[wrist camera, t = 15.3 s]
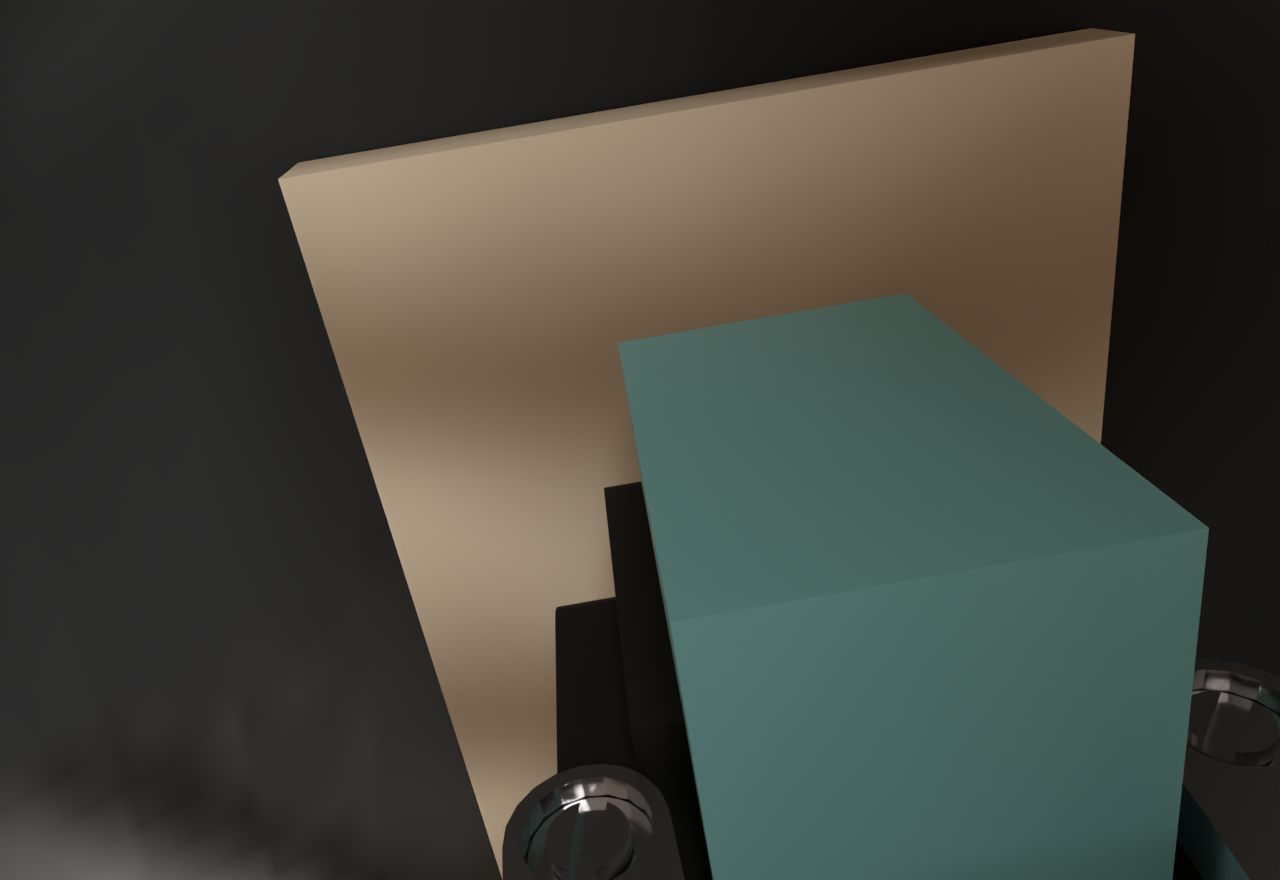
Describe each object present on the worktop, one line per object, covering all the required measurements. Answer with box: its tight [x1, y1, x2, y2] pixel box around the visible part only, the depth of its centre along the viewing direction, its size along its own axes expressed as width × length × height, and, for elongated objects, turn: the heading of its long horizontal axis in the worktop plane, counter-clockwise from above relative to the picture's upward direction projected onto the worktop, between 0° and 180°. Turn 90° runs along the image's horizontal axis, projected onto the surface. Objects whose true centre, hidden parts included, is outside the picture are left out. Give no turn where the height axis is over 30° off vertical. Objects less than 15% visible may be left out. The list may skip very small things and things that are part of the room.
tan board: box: [278, 28, 1135, 880], centre depth 16 cm, size 18×10×1 cm, turn 9°
